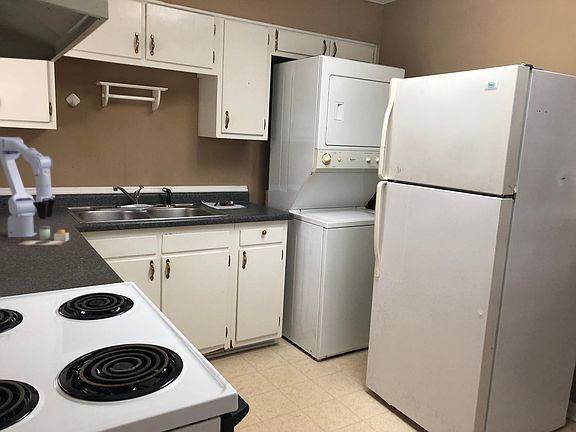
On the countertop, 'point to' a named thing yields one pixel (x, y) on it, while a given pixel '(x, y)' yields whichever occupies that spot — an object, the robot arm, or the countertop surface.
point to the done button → (61, 231)
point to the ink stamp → (44, 233)
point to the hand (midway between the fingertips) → (46, 217)
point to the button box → (61, 237)
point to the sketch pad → (41, 243)
